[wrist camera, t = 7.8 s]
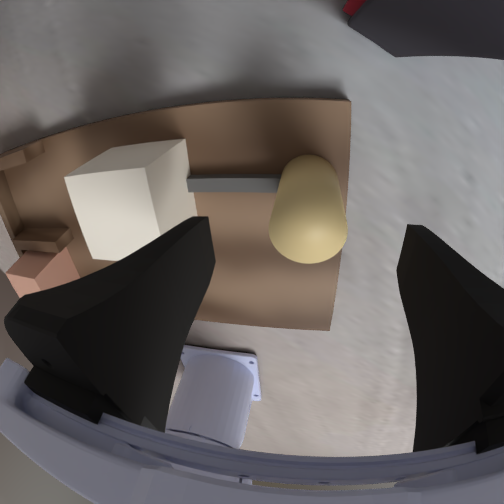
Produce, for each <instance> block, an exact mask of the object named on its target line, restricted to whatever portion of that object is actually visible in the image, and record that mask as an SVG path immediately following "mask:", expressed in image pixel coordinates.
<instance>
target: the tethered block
mask: <svg viewBox="0 0 504 504" xmlns="http://www.w3.org/2000/svg"><path fill="white" fill-rule="evenodd" d="M64 179H65V182H66V186H67V189H68V192H69V195H70V199H71V202H72V205H73V208H74V211H75V213H76V216H77V219H78V222H79V225H80V227H81V230H82V233H83V235H84V238H85V241H86V243H87V246H88V248H89V251H90V253H91V256H92V258H93V259H100V260H111V261H119V260H121V259H123V258H124V257H126V256H128V255H130V254H132V253H133V252H135V251H137V250H138V249H140V248H141V247H143V246H145V245H146V244H148V243H150V242H151V241H153V240H155V239H156V238H158V237H159V236H161V235H162V234H164V233H165V232H167V231H168V230H170V229H172V228H173V227H175V226H176V225H178V224H179V223H181V222H183V221H185V220H186V219H188V218H190V217H192V216H197V210H196V204H195V198H194V192H256V193H277V195H276V198H275V202H274V206H273V210H272V214H271V218H270V222H269V236H270V239H271V242H272V244H273V245H274V247H275V248H276V249H277V251H278V252H280V253H281V254H282V255H283V256H285V257H286V258H288V259H290V260H292V261H295V262H299V263H306V264H312V263H319V262H323V261H325V260H328V259H330V258H331V257H333V256H334V255H336V254H337V253H338V252H339V251H340V250H341V248H342V247H343V245H344V243H345V241H346V238H347V232H348V228H347V221H346V216H345V211H344V205H343V200H342V195H341V190H340V186H339V181H338V176H337V173H336V171H335V169H334V167H333V166H332V165H331V164H330V163H329V162H328V161H327V160H325V159H324V158H322V157H319V156H316V155H301V156H298V157H296V158H294V159H292V160H291V161H290V162H289V163H288V164H287V165H286V166H285V168H284V170H283V172H282V174H207V175H191V174H190V167H189V161H188V154H187V147H186V140H185V139H176V140H166V141H157V142H148V143H140V144H133V145H126V146H119V147H113V148H110V149H109V150H107V151H105V152H103V153H102V154H100V155H98V156H97V157H95V158H93V159H92V160H90V161H88V162H87V163H85V164H83V165H82V166H80V167H79V168H77V169H76V170H74V171H72V172H71V173H69V174H68V175H66V176H65V177H64Z"/></svg>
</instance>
